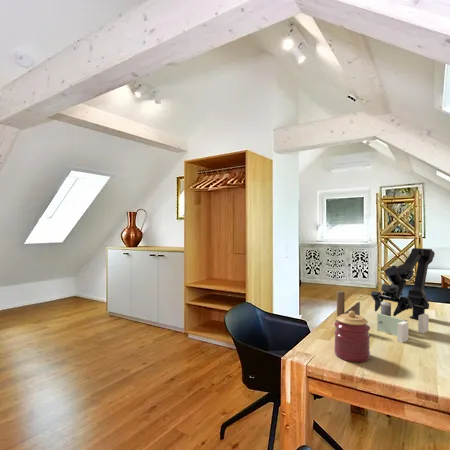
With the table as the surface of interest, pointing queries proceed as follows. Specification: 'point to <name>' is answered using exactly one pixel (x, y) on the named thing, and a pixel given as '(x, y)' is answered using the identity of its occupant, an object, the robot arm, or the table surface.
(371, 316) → the table surface
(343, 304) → the toy block tower
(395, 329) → the door
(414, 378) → the table surface
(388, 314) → the post
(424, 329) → the wall frame
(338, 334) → the canister
